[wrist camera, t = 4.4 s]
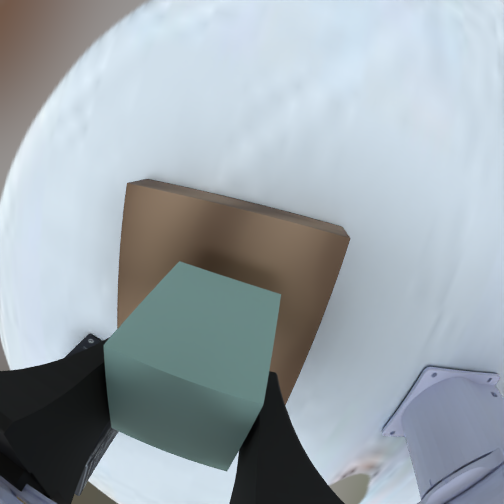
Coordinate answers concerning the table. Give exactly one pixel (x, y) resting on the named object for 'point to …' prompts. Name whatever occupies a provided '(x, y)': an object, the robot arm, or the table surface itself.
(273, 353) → the walnut slab
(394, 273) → the table surface
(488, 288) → the table surface
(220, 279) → the teal block
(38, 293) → the table surface
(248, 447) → the robot arm
